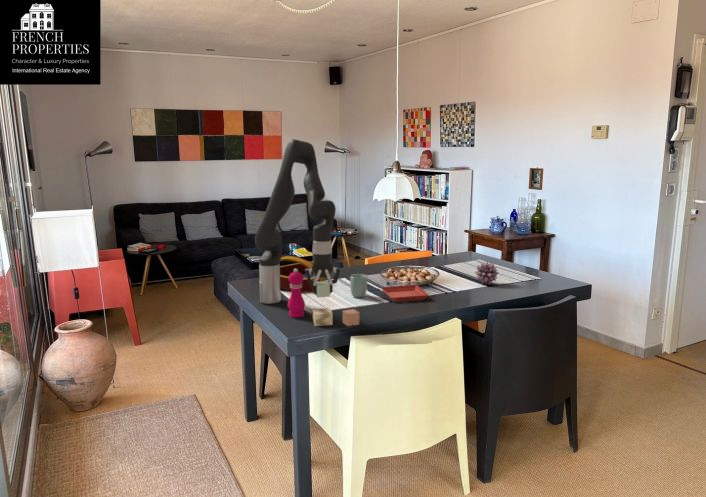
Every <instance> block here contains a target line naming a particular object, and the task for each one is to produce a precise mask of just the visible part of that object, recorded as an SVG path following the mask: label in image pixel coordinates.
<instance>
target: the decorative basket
mask: <svg viewBox="0 0 706 497" xmlns="http://www.w3.org/2000/svg"><path fill="white" fill-rule="evenodd" d="M284 261H285V262H286V261H287V262H288V261H289V262H294V263H291V264H287V265H280V289H283V290H287V291H291V288H290V284H291V283H290V282H289V275H290V274H291V273H293V272H294V269H298V272H299V273H301V274H302V276H303V281H302V287H301V293H302V292H303V293H304V292H313V285H311V284H309V283H308V280H307V276H306V272H305V269H310V268H312V266H313V260H312V261H309V260H306V259H303V258H301V257H298V256H291V255H286V256H281V259H280V262H284ZM314 276H315V273H314V272H313V271H311V274H310V278H311V281H313V280H314ZM324 281H325V278H324V277H321V278H319V279H318V281H317V282H324Z"/></svg>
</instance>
